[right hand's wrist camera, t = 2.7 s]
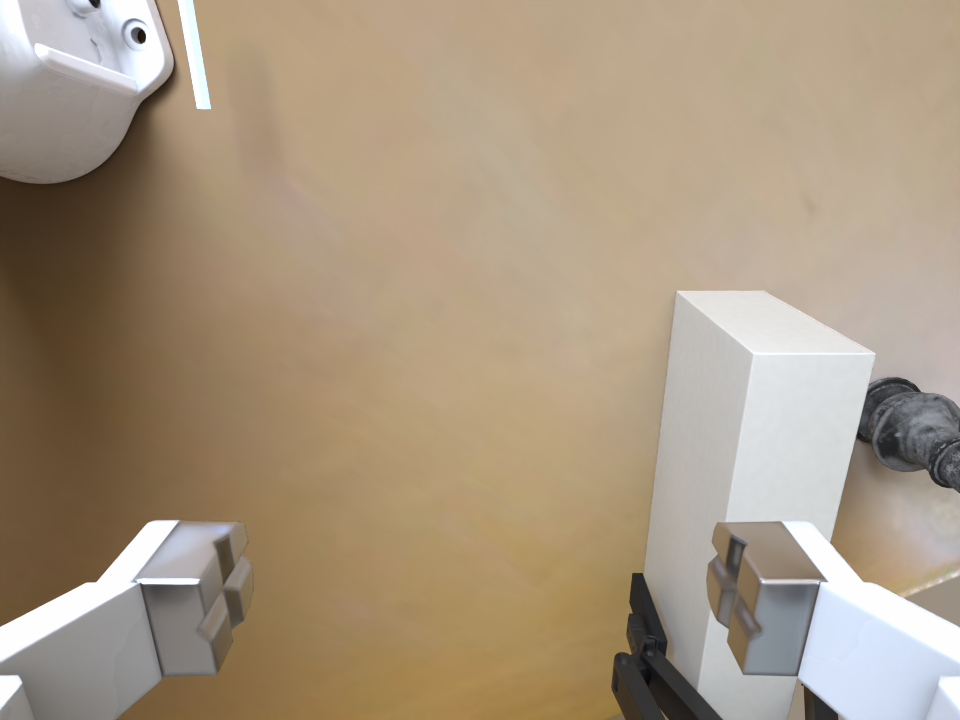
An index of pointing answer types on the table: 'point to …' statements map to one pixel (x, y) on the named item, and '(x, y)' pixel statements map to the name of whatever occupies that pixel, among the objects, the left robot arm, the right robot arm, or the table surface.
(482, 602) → the table surface
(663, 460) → the box
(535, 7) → the table surface
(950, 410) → the dark grey chess piece
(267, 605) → the table surface
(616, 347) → the table surface
